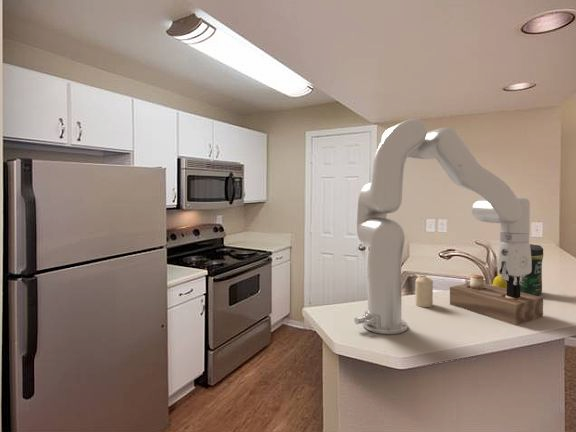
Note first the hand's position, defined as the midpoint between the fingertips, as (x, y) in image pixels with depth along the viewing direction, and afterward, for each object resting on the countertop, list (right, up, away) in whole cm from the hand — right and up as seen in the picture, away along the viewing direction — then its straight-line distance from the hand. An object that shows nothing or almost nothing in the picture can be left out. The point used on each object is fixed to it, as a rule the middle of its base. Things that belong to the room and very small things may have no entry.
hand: (513, 296), depth 108 cm
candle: (-23, -6, +12) cm, 27 cm away
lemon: (+9, -5, +21) cm, 23 cm away
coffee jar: (+20, -4, +23) cm, 31 cm away
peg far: (-6, -1, +11) cm, 12 cm away
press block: (-3, -6, +6) cm, 9 cm away
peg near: (0, -6, 0) cm, 6 cm away
